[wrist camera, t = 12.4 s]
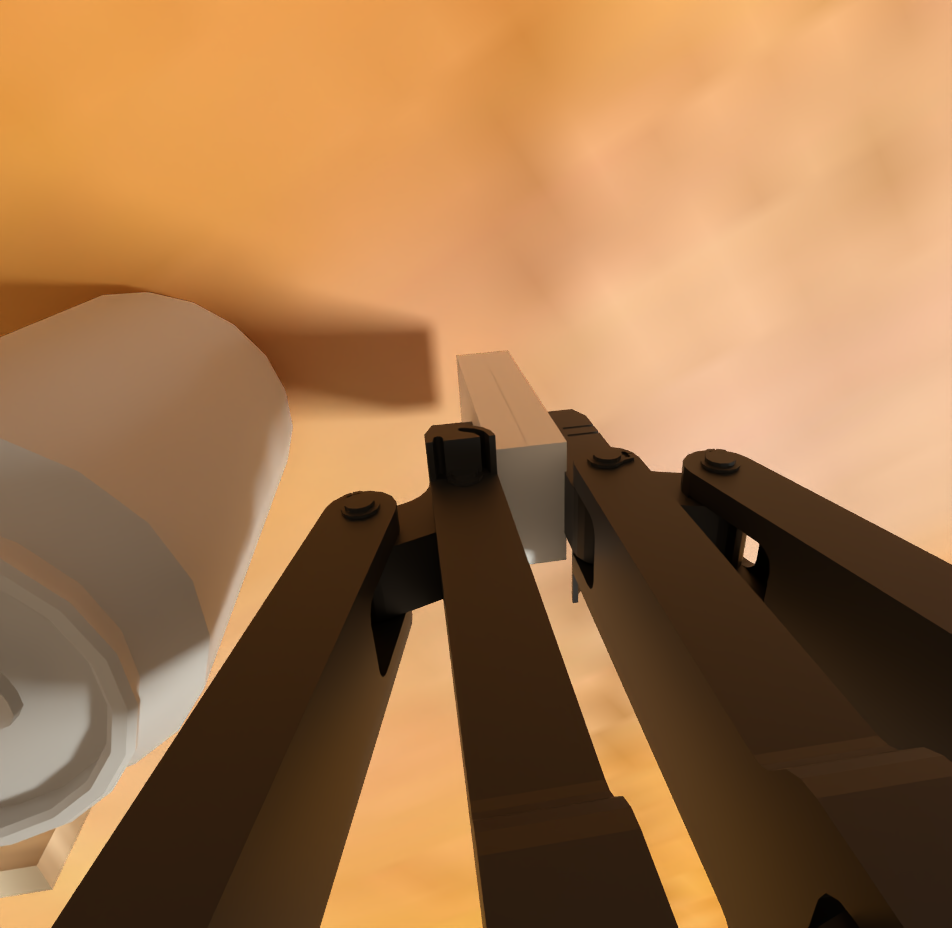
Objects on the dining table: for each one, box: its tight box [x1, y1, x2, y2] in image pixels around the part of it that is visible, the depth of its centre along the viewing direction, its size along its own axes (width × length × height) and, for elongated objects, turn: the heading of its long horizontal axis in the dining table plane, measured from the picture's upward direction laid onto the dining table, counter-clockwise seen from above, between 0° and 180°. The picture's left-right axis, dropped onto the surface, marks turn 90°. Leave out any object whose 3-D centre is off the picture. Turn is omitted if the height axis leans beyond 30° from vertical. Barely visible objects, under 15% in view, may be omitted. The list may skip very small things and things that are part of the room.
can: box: [0, 292, 293, 846], centre depth 13 cm, size 8×8×12 cm
